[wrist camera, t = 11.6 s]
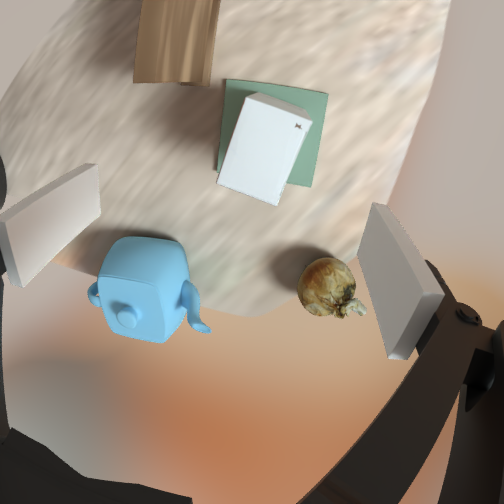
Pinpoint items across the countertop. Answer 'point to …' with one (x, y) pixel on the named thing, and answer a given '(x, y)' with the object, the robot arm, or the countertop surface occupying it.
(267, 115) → the small box
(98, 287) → the teapot
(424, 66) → the countertop surface
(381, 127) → the countertop surface
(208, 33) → the screen
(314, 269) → the onion
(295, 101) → the mat
